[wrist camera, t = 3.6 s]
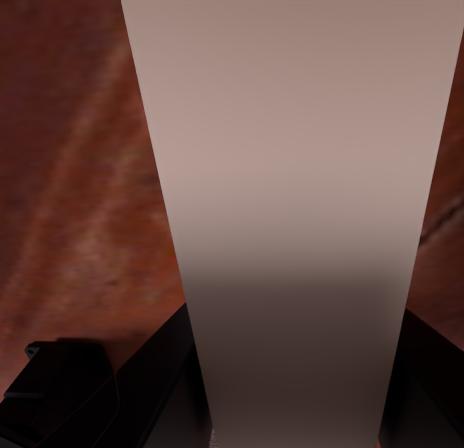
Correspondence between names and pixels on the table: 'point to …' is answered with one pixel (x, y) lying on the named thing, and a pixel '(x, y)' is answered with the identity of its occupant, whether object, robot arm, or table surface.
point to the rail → (295, 195)
